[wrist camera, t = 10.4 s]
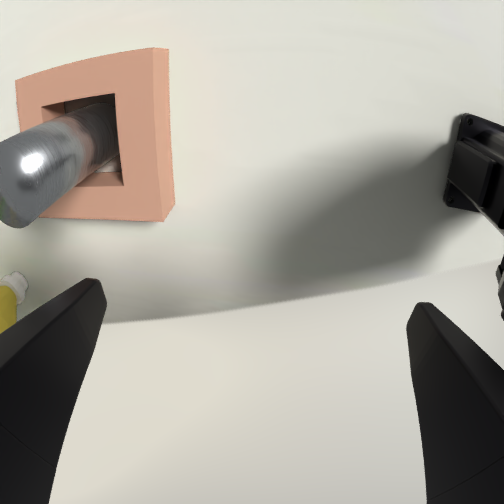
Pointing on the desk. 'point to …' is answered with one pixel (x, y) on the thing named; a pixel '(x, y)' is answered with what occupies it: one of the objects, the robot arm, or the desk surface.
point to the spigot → (53, 160)
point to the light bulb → (11, 298)
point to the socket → (128, 125)
